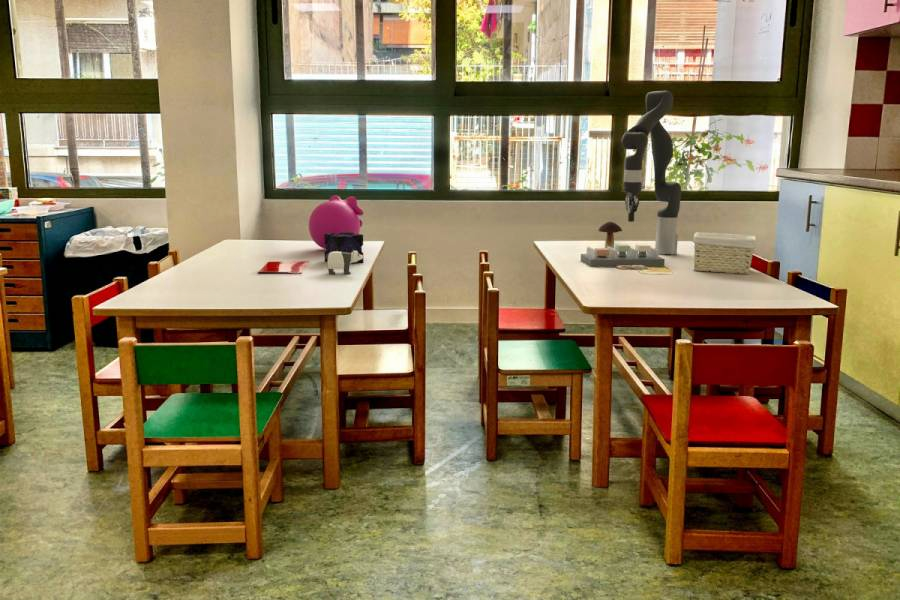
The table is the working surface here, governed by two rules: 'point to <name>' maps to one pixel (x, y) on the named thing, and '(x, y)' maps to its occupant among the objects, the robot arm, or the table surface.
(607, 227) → the decorative mushroom
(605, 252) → the orange cube
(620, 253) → the key sage
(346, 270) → the giant panda
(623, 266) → the strip
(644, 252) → the key ivory
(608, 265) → the grey shelf board
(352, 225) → the figurine
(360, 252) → the energy cube
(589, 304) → the table surface
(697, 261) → the storage basket
